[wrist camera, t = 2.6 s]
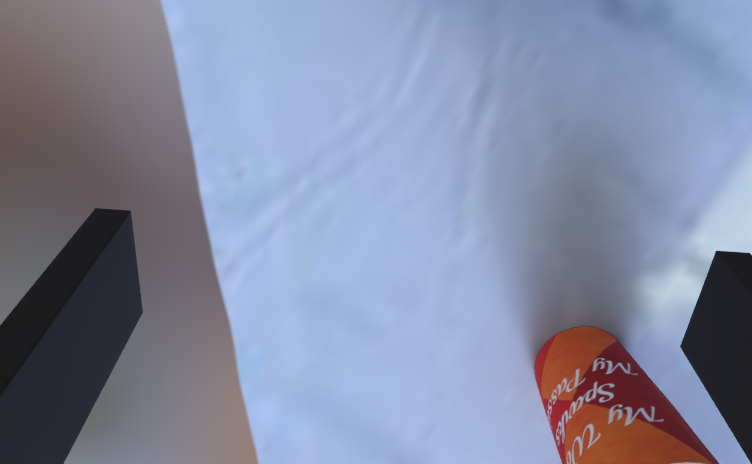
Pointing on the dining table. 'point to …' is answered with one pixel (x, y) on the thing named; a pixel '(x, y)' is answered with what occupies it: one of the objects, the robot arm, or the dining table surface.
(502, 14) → the dining table surface
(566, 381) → the coffee cup
